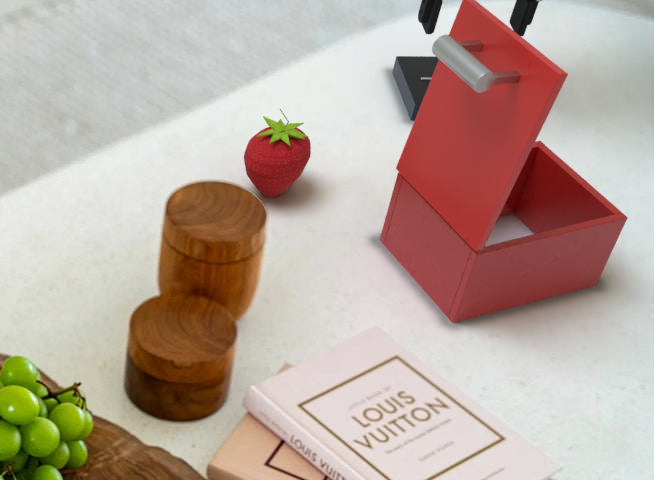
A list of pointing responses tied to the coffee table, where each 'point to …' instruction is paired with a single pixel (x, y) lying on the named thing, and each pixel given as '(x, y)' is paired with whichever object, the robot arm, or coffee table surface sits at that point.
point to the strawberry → (276, 156)
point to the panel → (413, 80)
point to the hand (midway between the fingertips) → (471, 28)
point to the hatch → (478, 120)
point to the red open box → (508, 242)
